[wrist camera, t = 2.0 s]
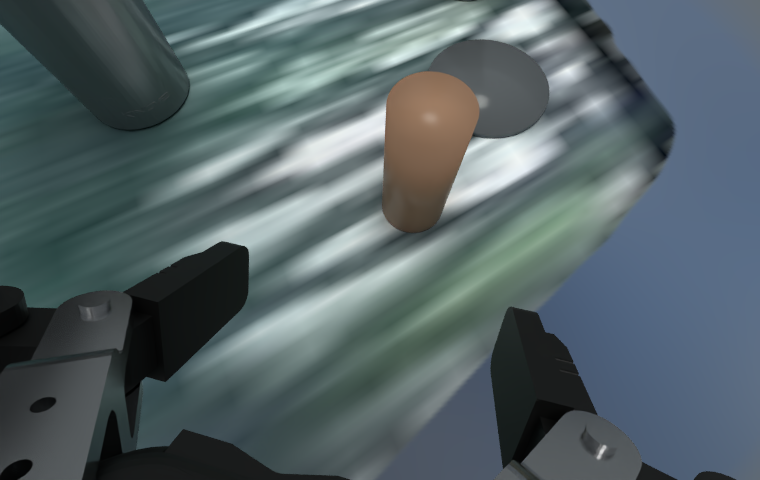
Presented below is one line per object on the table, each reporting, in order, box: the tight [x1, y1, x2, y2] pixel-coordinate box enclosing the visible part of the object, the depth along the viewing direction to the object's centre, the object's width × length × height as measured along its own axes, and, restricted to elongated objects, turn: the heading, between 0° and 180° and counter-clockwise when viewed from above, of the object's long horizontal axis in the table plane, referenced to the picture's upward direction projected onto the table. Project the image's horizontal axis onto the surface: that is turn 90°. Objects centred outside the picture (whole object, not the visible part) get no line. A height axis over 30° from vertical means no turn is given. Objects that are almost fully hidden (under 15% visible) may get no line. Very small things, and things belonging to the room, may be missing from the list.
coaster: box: [428, 40, 549, 138], centre depth 36 cm, size 12×12×1 cm
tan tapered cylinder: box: [382, 71, 479, 233], centre depth 26 cm, size 5×5×12 cm
